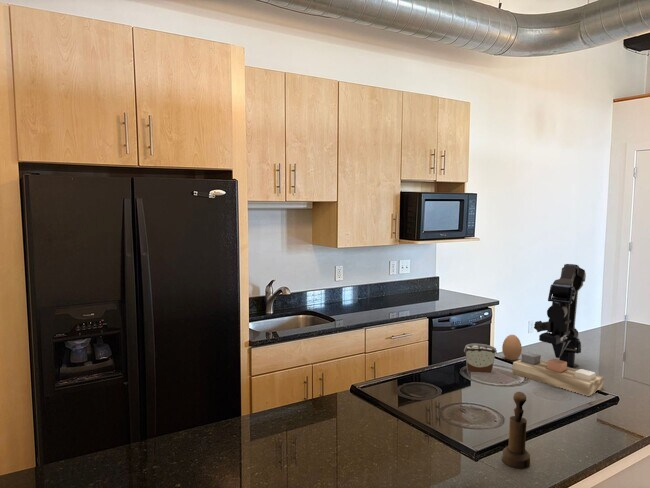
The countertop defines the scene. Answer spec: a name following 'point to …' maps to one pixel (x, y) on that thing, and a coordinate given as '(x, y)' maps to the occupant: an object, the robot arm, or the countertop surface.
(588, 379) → the cream key
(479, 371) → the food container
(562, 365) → the terracotta key
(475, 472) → the countertop surface
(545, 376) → the key panel
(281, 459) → the countertop surface
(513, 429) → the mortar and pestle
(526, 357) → the charcoal key
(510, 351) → the egg
